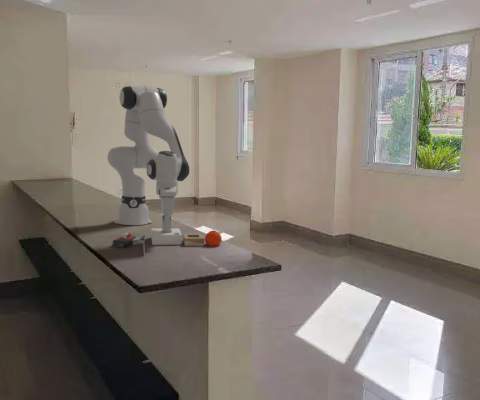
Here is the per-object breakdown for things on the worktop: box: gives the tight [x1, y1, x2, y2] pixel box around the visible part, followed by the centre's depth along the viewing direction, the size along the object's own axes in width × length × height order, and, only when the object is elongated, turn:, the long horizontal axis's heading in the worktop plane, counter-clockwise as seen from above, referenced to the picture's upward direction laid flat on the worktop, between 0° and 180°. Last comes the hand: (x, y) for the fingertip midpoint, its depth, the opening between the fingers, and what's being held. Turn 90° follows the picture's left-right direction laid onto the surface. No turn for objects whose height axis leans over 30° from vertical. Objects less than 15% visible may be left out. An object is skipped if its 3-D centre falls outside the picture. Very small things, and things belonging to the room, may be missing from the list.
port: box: [150, 227, 183, 246], centre depth 209 cm, size 14×12×5 cm
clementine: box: [204, 229, 222, 247], centre depth 205 cm, size 8×7×7 cm
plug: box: [161, 214, 172, 233], centre depth 208 cm, size 4×4×7 cm
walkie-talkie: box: [112, 232, 146, 249], centre depth 207 cm, size 9×4×20 cm
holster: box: [182, 233, 205, 247], centre depth 206 cm, size 10×8×4 cm
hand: (166, 222), depth 208 cm, fingers closed on plug, 3 cm apart
